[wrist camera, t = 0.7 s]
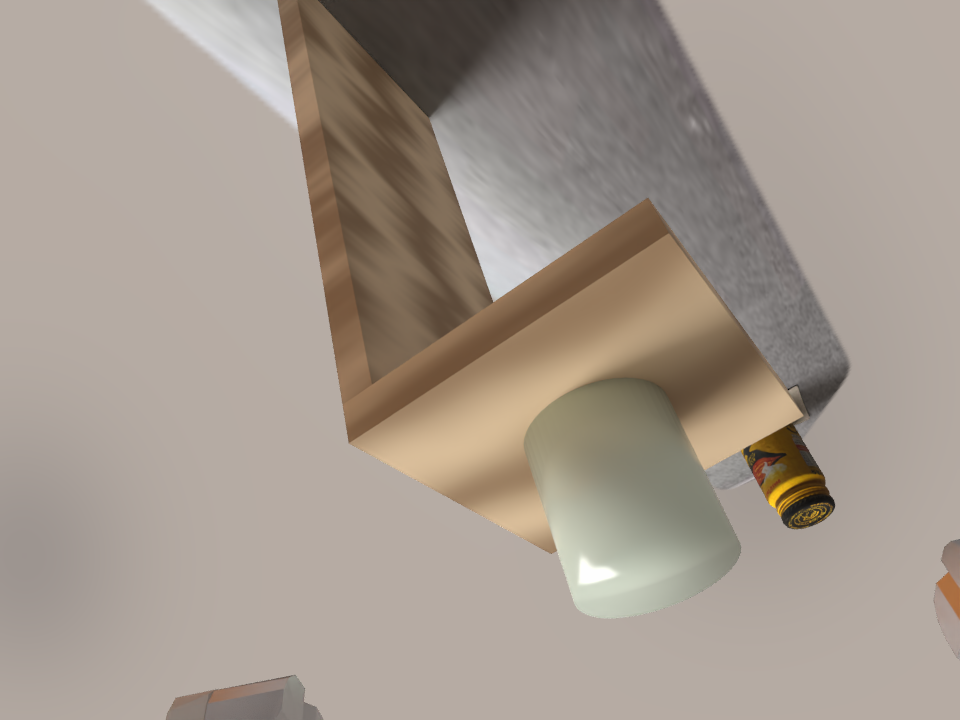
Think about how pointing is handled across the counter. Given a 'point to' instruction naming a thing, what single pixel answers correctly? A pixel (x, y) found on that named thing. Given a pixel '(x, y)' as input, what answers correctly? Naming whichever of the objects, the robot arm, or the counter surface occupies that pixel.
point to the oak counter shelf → (491, 303)
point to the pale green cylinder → (627, 499)
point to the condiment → (790, 474)
